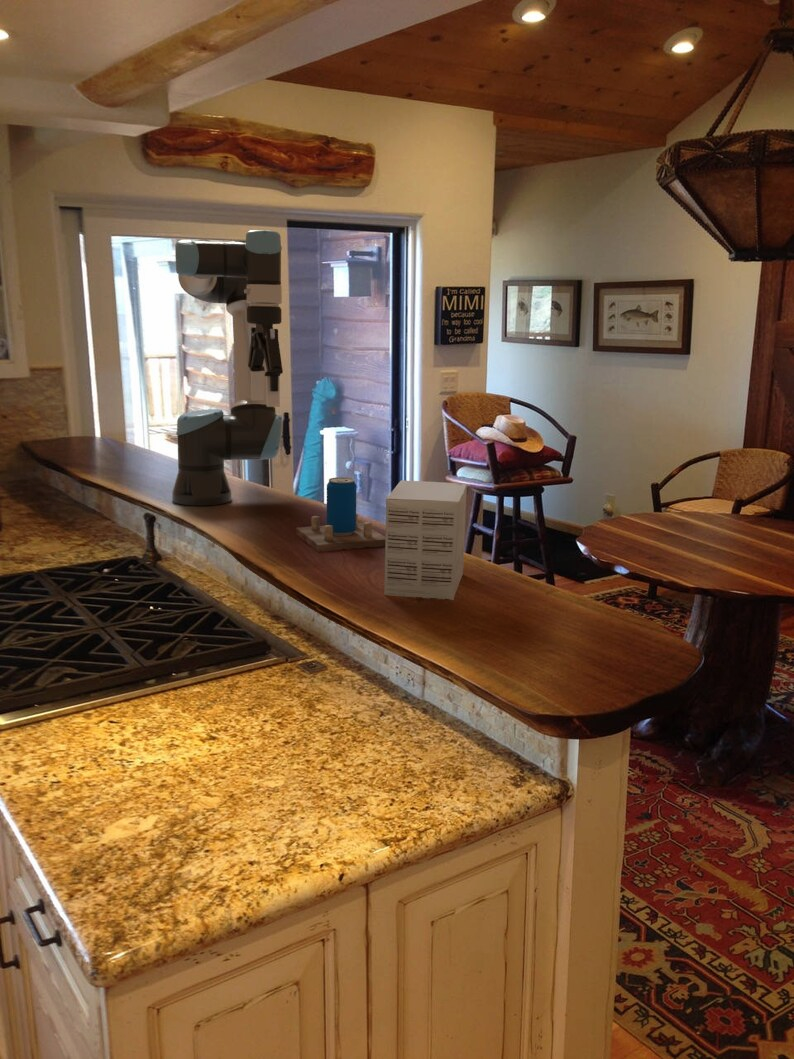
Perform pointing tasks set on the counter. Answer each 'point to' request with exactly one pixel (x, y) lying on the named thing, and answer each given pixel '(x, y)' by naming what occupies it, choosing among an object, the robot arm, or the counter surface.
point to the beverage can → (341, 505)
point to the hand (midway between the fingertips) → (265, 403)
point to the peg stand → (326, 541)
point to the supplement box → (425, 539)
